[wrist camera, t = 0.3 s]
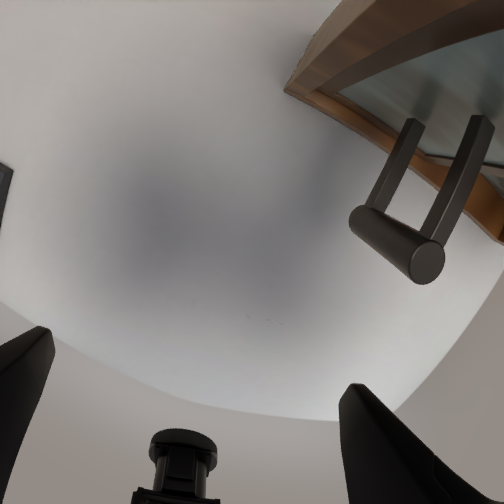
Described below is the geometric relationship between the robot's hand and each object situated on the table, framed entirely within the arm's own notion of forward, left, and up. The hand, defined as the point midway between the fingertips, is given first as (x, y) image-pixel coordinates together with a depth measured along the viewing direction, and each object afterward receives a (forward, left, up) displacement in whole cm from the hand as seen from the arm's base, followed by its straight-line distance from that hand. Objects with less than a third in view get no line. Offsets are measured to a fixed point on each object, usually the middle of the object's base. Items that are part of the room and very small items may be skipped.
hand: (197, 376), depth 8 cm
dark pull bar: (+7, -8, -12) cm, 16 cm away
